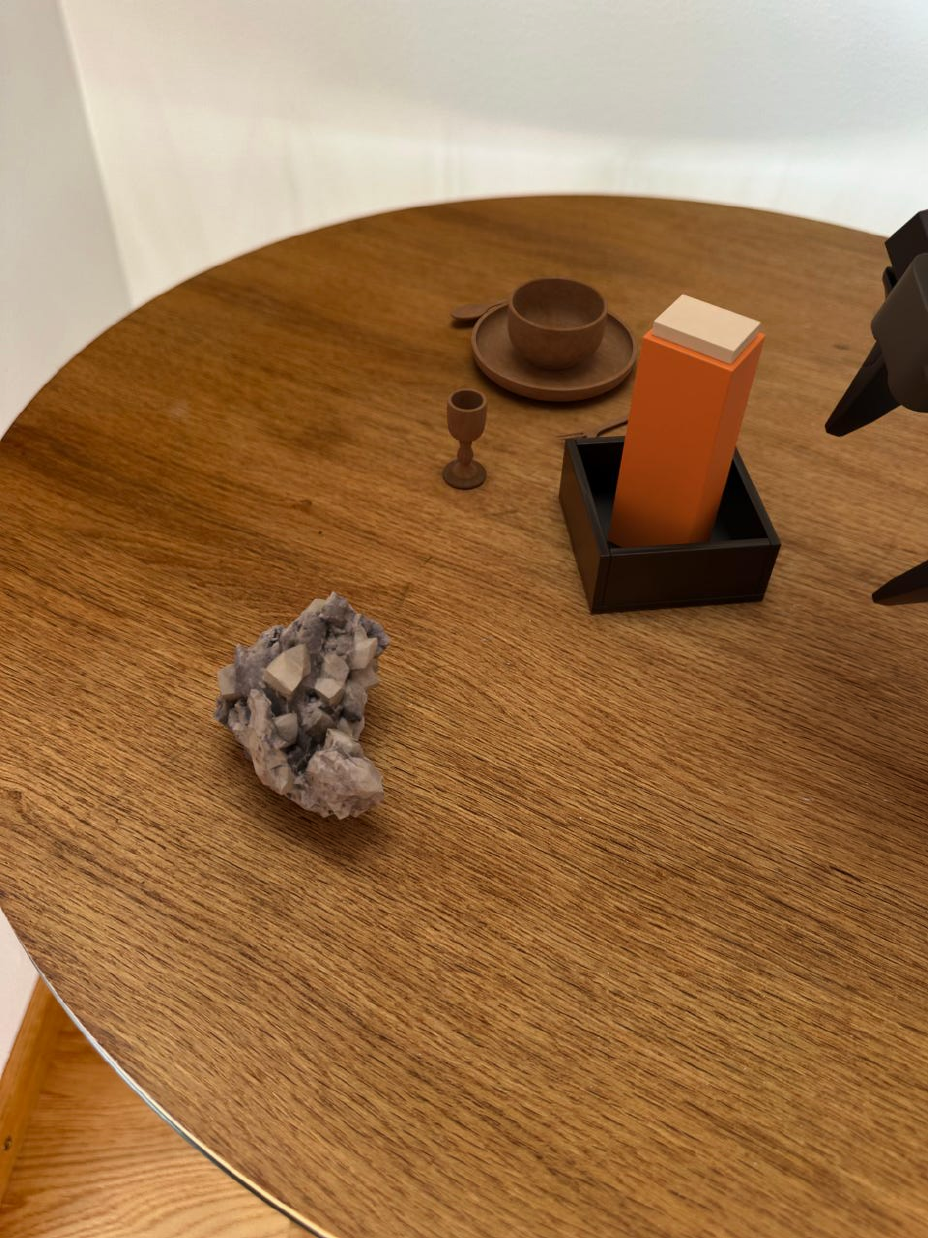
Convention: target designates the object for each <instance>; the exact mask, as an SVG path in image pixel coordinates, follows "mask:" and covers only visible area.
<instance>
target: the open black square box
mask: <svg viewBox="0 0 928 1238" xmlns="http://www.w3.org/2000/svg"><path fill="white" fill-rule="evenodd" d="M625 437H626V435H616V436H615V435H613V436H597V437H594V438H586V437H580V438H575V439H566V440H564V442H565V443H564V448H563V455H562V456H563V457H562V465H561V473H560V480H559V488H558V489H559V490H558V499H559V503H560V507H561V510H562V511H561V512H562V514H563V518H564V521H565V525H566V528H567V533H568V536H569V540H570V543H571V546H572V550H573V554H574V558H575V561H576V565H577V569H578V573H579V576H580V579H581V583H582V587H583V591H584V594H585V598H586V601H587V605H588V609H589V612H590V614H593V615H594V614H604V613H606V614H607V613H618V612H619V613H620V612H632V611H645V610H646V611H647V610H648V611H649V610H658V609H659V610H660V609H673V608H687V607H697V606H698V607H702V606H712V605H713V606H715V605H726V604H728V605H729V604H740V603H741V604H742V603H755V602H762V601H764V597H765V595H766V591H767V588H768V586H769V582H770V580H771V578H772V575H773V572H774V568H775V565H776V563H777V559H778V556H779V553H780V550H781V547H782V541H781V539H780V538H779V535H778V533H777V530H776V529H775V527H774V525H773V522H772V520H771V517H770V515H769V513H768V511H767V510H766V507H765V505H764V503H763V501H762V499H761V496H760V494H759V492H758V490H757V488H756V486H755V483H754V482H753V479H752V477H751V475H750V473H749V471H748V469H747V467H746V464H745V462H744V460H743V458H742V455H741V454H740V451H739V449H738V447H737V446H736V447H735V450H734V454H733V458H732V462H731V465H730V469H729V473H728V476H727V480H726V484H725V487H724V491H723V495H722V499H721V502H720V506H719V510H718V513H717V517H716V521H715V524H714V528H713V532H712V536H711V538H710V540H709V541H708V542H700V543H685V544H671V545H656V546H641V547H626V548H622V547H620V546H617V545H615V544H613V543H611V542H609V541H608V535H609V529H610V523H611V518H612V512H613V506H614V500H615V494H616V489H617V483H618V477H619V471H620V466H621V460H622V454H623V448H624V443H625Z"/></svg>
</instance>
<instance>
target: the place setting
mask: <svg viewBox="0 0 928 1238" xmlns="http://www.w3.org/2000/svg"><path fill="white" fill-rule="evenodd" d="M450 316H451V318H453V319H454V320H458V321H473V320H477V319H478V320H477V321H476V323H475V324H474V326H473V329H472V332H471V336H470V342H471V344H470V345H471V352H472V355H473V358H474V360H475V362H476V364H477V366H478V368H479V369H480V370H481V371H482V373H483V374H484V375H485V376H486V377H487V378H488V379H490V381H492V382H493V383H494V384H496V385H497V386H499V387H501V388H503V389H505V390H506V391H509V392H510V393H513V394H516V395H519V396H522V397H524V398H528V399H532V400H538V401H545V402H554V403H555V402H562V403H565V402H575V401H581V400H582V401H583V400H587V399H591V398H595V397H597V396H600V395H603V394H605V393H607V392H609V391H611V390H613V389H614V388H616V387H617V386H619V385H620V384H621V383H622V382H624V380H626V379H627V377H628V376H629V374H630V373H631V372H632V370H633V368H634V366H635V365H636V360H637V356H638V352H639V351H638V350H639V349H638V348H639V344H638V340H637V337H636V335H635V333H634V331H633V329H632V328H631V327H630V326H629V325H628V324H627V322H626V321H624V320H623V319H622V318H621V317H620V316H619V315H617V314H615V313H613V312H612V311H610V310H609V302H608V300H607V298H606V296H605V295H604V294H603V292H601V291H600V290H599V289H598V288H596V287H595V286H594V285H591V284H590V283H587V282H585V281H583V280H579V279H577V278H573V277H566V276H555V275H553V276H551V275H550V276H540V277H536V278H535V277H534V278H532V279H529V280H526V281H524V282H522V283H519V285H517V286H516V287H514V288H513V290H512V291H511V292H510V294H509V296H508V297H506V298H502V299H498V300H495V301H491V302H486V303H485V302H484V303H465V304H460V305H458V306H456V307H455V308H454V309H452V311H451V312H450ZM629 414H630V413H628V414H625V415H622V416H620V417H617V418H615V419H613V420H609V421H608V422H605V423H603V424H600V425H598V426H596V427H594V428H593V429H584V430H580V431H576V432H571V433H564V434H557V435H555V436H554V438H558V439H557V441H561V444H565V440H566V439H576V438H594V437H598V435H599V434H600V433H601V432H603V431H605V430H608V429H611V428H614V427H616V426H618V425H622V424H624V423H627V422H628V419H629ZM487 415H488V398H487V396H486V394H485V393H484V392H482V391H481V390H479V389H476V388H472V387H461V388H457V389H455V390H452V391H451V392H450V393H449V394H448V395H447V400H446V423H447V430H448V432H449V434H450V436H451V437H452V438H453V439H455V441H458V445H459V448H458V449H457V452H456V459H454V460H451V461H450V462H448V463H447V464H446V465H445V466H444V467H443V470H442V477H443V480H444V481H445V482H446V483H447V484H448V485H449V486H452V487H453V488H457V489H461V490H468V489H473V488H476V487H479V486H480V485H482V484H483V483H484V482H485V480H486V478H487V469H486V468H485V466H484V465H483V464H481V463H480V462H479V461H477V460H474V457H475V455H474V451H473V449H472V445H473V442H476V441H477V440H478V439H480V437H481V436H482V435H483V434H484V431H485V428H486V424H487V423H486V422H487Z"/></svg>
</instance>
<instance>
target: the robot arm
mask: <svg viewBox="0 0 928 1238" xmlns="http://www.w3.org/2000/svg"><path fill="white" fill-rule="evenodd" d="M884 246H885V249H886V252H887V255H888V258H889V261H890V264H891V265H887V266H886V267H885V268H884V270H883V272H882V275H881V276H882V277H881V281H882V284H883V288H884V301H883V303H882V305H881V306H880V307H879V309H878V310H877V312H876V313H875V314H874V316H873V318H872V319H871V321H870V330H871V334H872V337H873V340H875V342H874V344H873V346H872V348H871V350H870V351H869V353H868V355H867V356H866V357H865V360H864V361H863V363H862V365H861V366H860V368H859V369H858V371H857V373H856V374H855V376H854V377H853V379H852V380H851V382H850V384H849V385H848V387H847V389H846V390H845V392H844V393H843V395H842V396H841V398H840V399H839V401H838V402H837V405H836V406H835V407H834V409H833V411H832V412H831V413H830V415H829V417H828V418H827V420H826V421H825V423H824V429H825V433H826V434H828V435H830V436H834V437H836V438H837V437H838V438H842V437H845V436H846V435H849V434H851V433H853V432H855V431H857V430H860V429H862V428H864V427H866V426H868V425H870V424H872V423H873V422H876V421H877V420H879V419H880V418H882V417H884V416H886V415H887V414H889V413H890V412H892V411H894V410H896V409H898V408H899V407H901V406H902V407H903V408H905V409H907V410H909V411H912V412H915V413H919V414H928V208H926V209H922V210H919V211H917V212H916V213H915V214H914V215H913V216H911V218H909V220H907V221H906V222H905V223H904V224H903V225H902V226H901V227H899V228H898V229H897V230H896V231H895V232H894V233H893V234H892V235H890V237H888V238H887V239H886V240H885V241H884ZM871 601H872V602H873V603H874V604H877V605H881V606H884V607H885V606H886V607H894V606H902V605H903V606H905V605H913V604H914V605H915V604H923V603H928V559H926V560H925V561H923V562H920V563H919V564H917V565H915V566H913V567H911V568H909V569H908V570H906V571H904V572H901V573H900V574H898V575H897V576H895V577H893V578H891V579H889V580H888V581H887V582H886V583H884V584H883V585H882V586H880V587H879V588H877V589H876V590H875V591H874V592H872V593H871Z"/></svg>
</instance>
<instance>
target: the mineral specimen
mask: <svg viewBox="0 0 928 1238" xmlns="http://www.w3.org/2000/svg"><path fill="white" fill-rule="evenodd" d="M392 641H393V640H392V639H391V637H390V635H388V633H387V632H386V631H385V629H384V627H383V626H382V624H380V623H379V622H377V621H376V620H374V619H371V618H369V617H368V616H366V615H364V614H363V613H358V612H357V611H356V610H355V609H354V608H353V607H352V605H351V604H350V603H349V599H348V598H345V597H344V596H341V595H340V594H338V593H337V592H335V591H334V590H332V591H331V593H330V595H329V596H327V598H326V599H322V598H315V599H313V600H312V602H311V603H310V604H309V605H308V606H307V607H306V608H305V609H304V610H302V611H301V613H300V615H299V616H297V618H296V619H294V620H293V621H292V622H291V623H290V624H289V625H288V626H284V625H282V624H276V625H275V624H274V625H271V626H270V627H269V628H267V630H264V631H262V632H261V633H260V635H259V638H258V640H257V642H255V643H254V644H252V645H251V646H250V647H248V648H246V647H245V646H243V645H241V644H240V643H237V645H236V646H235V648H234V650H233V651H234V652H233V663H231V664H228V665H226V666H224V667H222V668H220V669H219V670H217V671H216V676H217V685H218V689H219V692H220V693H219V695H218V696H217V697H215V703H214V706H215V707H216V709H214V710H213V711H212V712H211V713H210V716H212V717H213V718H214V719H215V720H216V722H218V723H220V724H221V725H223V726H224V727H225V728H227V730H228V731H230V732H232V733H233V735H234V736H235V737H234V739H235V740H236V741H237V742H238V743H239V744H241V745H242V748H243V751H244V752H243V753H244V755H245V759H246V760H247V761H250V762H252V763H253V767H254V770H255V773H256V775H257V777H258V779H259V780H260V782H261V783H262V785H264V786H269V788H270V789H271V790H272V791H273V792H275V793H277V794H278V795H280V796H283V795H284V796H285V797H287V798H288V799H289V800H290V801H292V802H294V803H296V804H297V805H299V806H300V807H301V808H302V809H304V810H306V811H309V812H315V813H319V815H320V817H322V818H323V819H325V818H327V817H330V816H332V815H335V816H336V817H337V818H338V820H342V819H345V818H347V817H349V816H350V817H353V818H358V817H359V816H361V815H363V814H364V813H365V812H367V811H368V810H371V809H373V808H376V807H379V806H380V805H381V803H382V801H383V800H384V797H386V794H387V793H386V792H385V791H384V788H383V780H384V776H383V775H382V774H381V772H380V771H379V770H378V768H377V767H376V766H375V764H374V763H373V762H372V761H371V759H370V758H368V757H367V756H365V755H364V749H363V747H362V745H361V743H360V742H359V739H360V735H361V733H362V732H363V731H364V729H365V710H366V709H365V708H366V704H367V702H368V701H369V700H368V696H369V695H368V692H370V691H371V690H373V689H374V688H378V687H379V684H380V680H379V677H378V676H377V673H379V671H380V668H379V663H378V659H379V657H380V656H381V655H382V654H383V653H384V652H385V650H386V649H387V648H388V646H389V645H390V643H391V642H392Z"/></svg>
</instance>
